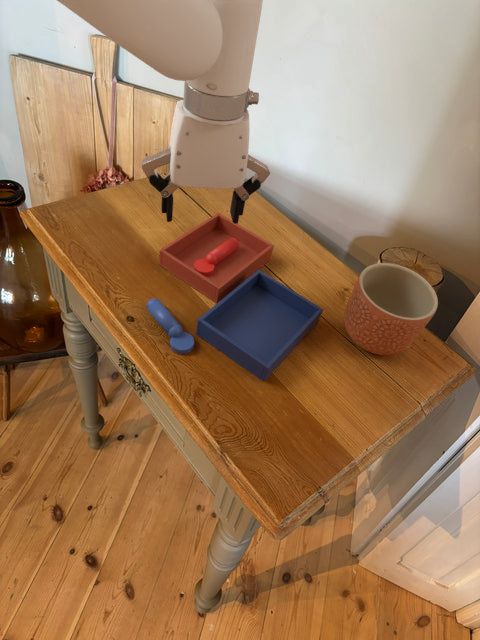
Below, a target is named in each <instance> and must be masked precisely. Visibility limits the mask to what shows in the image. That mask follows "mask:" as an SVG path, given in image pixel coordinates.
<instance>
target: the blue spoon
mask: <svg viewBox="0 0 480 640" xmlns="http://www.w3.org/2000/svg"><path fill="white" fill-rule="evenodd" d="M146 310H147V311H148V312H149V313H150V315H151V316H152V317H153V318H154V320H155V321H156V322H157V323H158V325H159V326H160V327H161V328H162V329H163V330H164V332H165V333H166V334H167V336H168V337H169V338H170V341H169V346H170V349H171V350H172V351H173V352H174V353H176V354H179V355H185V354H186V355H187V354H189V353H191V352H192V351H193V350H194V347H195V339H194V337H193V335H191V334H190V333H188V332H186V331H184V329H183V326H182V325H181V324H180V322H179V321H178V320H177V319H176V318H175V317H174V316H173V314H172V313H171V311H169V309H167V307H166V306H165V305H164V303H162V301H161V300H160V299H158V298H156V297H155V298H154V297H153V298H150V299H149V300H148V301H147V303H146Z"/></svg>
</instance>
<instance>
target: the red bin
mask: <svg viewBox="0 0 480 640" xmlns="http://www.w3.org/2000/svg"><path fill="white" fill-rule="evenodd" d="M230 238H235V239H237V240H238V242H239V247H238V249H237V250H235V251H234V252H233V253H231V254H230V255H228V256H227V257H226V258H224V259H223V260H222V261H220V262H219V263H218V264H216V265H214V266H215V267H214V272H213V274H212V275H210V276H203V275H202V274H200V273H199V272H197V271H196V270H194V263H195V262H196V261H197V260H199V259H205V258H206V255H207V254H208V253H210V252H211V251H213V250H214V249H215V248H217V247H218V246H220V245H221V244H223V243H224V242H225V241H227V240H228V239H230ZM274 247H275V245H274V244H273V243H271V242H269V241H267V240H266V239H264V238H262V237H260V236H259V235H257V234H256V233H254V232H252V231H251V230H248V229H247V228H245V227H243V226H241V225H240V224H239V223H238V224H234V223H233V221H232V219H231V218H228V217H226V216H225V215H223V214H221V213H220V212H217V213H215V214H213V216H210V217H209V218H208V219H206V220H205V221H203V222H202V223H200V224H198V225H197V226H195V227H194V228H192V229H190V230H189V231H187V232H186V233H184V234H181V236H179V237H178V238H176V239H174V240H173V241H171V242H170V243H168V244H167V245H165V246H163V247H161V248H160V249H159V250H158V251H159V254H158V266H160V267H161V268H162V269H164V270H166V271H167V272H168V273H170V274H171V275H173V276H174V277H176V278H177V279H179V280H180V281H182V282H184V283H185V284H187V285H188V286H190V287H191V288H193V289H194V290H196V291H197V292H199V293H200V294H202V295H203V296H205V297H206V298H207V299H209V300H211V302H214V303H215V304H217V303H218V302H220V301H221V300H222V299H223V298H225V297H226V296H227V295H228V294H229V293H231V292H232V291H233V290H234V289H236V288H237V287H238V286H239V285H240V284H242V283H243V282H244V281H245V280H247V279H248V278H249V277H250V276H251V275H253V274H254V273H255V272H256V271H257V270H260V269H261V268H262V267H263V266H264V265H266V264H267V263H269V261H271V260H272V254H273V251H274Z"/></svg>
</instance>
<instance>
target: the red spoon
mask: <svg viewBox="0 0 480 640" xmlns="http://www.w3.org/2000/svg"><path fill="white" fill-rule="evenodd" d="M238 247H239V242H238V240H237V239H235V238H230V239H228V240H227V241H225V242H224V243H223V244H221V245H220V246H218V247H217V248H215V249H214V250H213V251H211V252H210V253H208V254H207V255H206V258H205V259H199V260H197V261H196V262H195V263H194V270H196V271H197V272H199V273H200V274H202V275H203V276H210V275H212V274H213V272H214V267H215V266H214V265H216V264H218V263H219V262H220V261H222V260H223V259H224V258H226V257H227V256H228V255H230V254H231V253H233V252H234V251H235V250H237V249H238Z"/></svg>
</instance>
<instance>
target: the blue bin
mask: <svg viewBox="0 0 480 640" xmlns="http://www.w3.org/2000/svg"><path fill="white" fill-rule="evenodd" d="M323 311H324V308H322V307H321V306H319V305H317V304H316V303H314V302H312V301H311V300H310V299H307V298H306V297H304V296H303V295H301V294H299V293H298V292H296V291H294V290H293V289H291V288H290V287H288V286H286V285H284V284H283V283H282V282H280V281H279V280H276V279H275V278H273V277H272V276H270V275H268V274H267V273H265V272H263V271H262V270H260V269H258V270H257V271H256V272H255V273H253V274H252V275H251V276H250V277H249V278H247V279H246V280H245V281H244V282H242V283H241V284H240V285H239V286H238V287H236V288H235V289H234V290H233V291H232V292H230V293H229V294H228V295H227V296H225V297H224V298H223V299H222V300H221V301H219V302H218V303H215V305H214V306H212V307H211V308H210V309H208V311H206V312H205V313H204V314H203V315H201V316H200V317H199V318H198V319H197V323H196V330H195V335H197V336H198V338H201V339H202V340H203V341H205V342H206V343H208V344H209V345H211V346H212V347H213V348H214V349H216V350H217V351H219V352H221V354H223V355H225V356H226V357H227V358H229V359H231V360H232V361H233V362H234V363H236V364H237V365H239V366H240V367H242V368H243V369H244V370H246V371H247V372H249V373H250V374H251V375H253V376H254V377H256V378H258V379H259V380H260V381H261V382H265V381H266V380H268V378H269V377H270V376H271V375H272V374H273V373H274V371H275V370H276V369H277V368H278V367H279V366H280V365H281V364H282V363H283V362H284V361H285V360H286V358H287V357H289V355H290V354H292V352H293V351H294V350H295V349H296V347H297V346H298V345H300V343H301V342H302V341H303V340H304V339H305V338H306V337H307V335H308V334H310V333H311V331H312V330H313V329H314V328H315V327H316V326H317V325H318V324H319V321H320V318H321V316H322V314H323Z"/></svg>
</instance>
